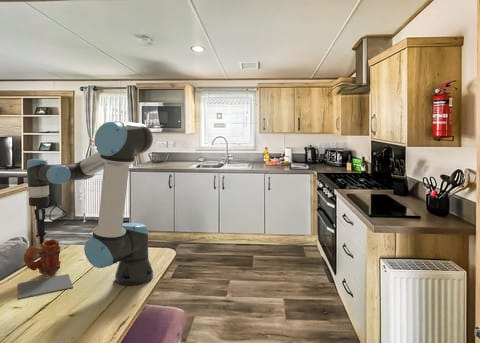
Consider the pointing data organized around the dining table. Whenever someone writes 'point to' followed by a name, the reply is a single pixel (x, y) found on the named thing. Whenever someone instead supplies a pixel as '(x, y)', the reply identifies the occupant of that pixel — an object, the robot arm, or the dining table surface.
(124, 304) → the dining table surface
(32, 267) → the orange hollow piece
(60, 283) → the mat
